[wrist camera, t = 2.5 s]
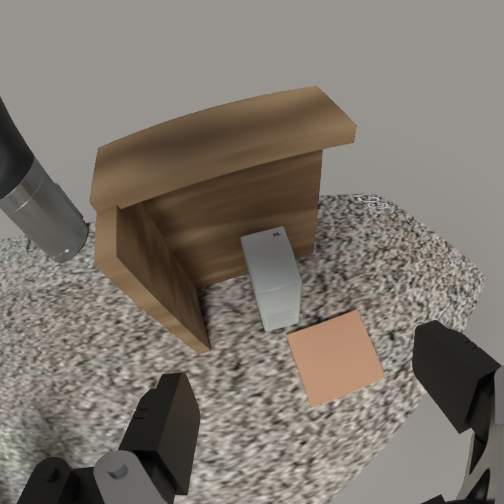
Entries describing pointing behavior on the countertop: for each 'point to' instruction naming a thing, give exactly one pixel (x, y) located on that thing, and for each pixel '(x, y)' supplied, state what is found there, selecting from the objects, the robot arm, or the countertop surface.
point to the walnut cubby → (209, 197)
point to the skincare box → (273, 277)
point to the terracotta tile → (335, 358)
